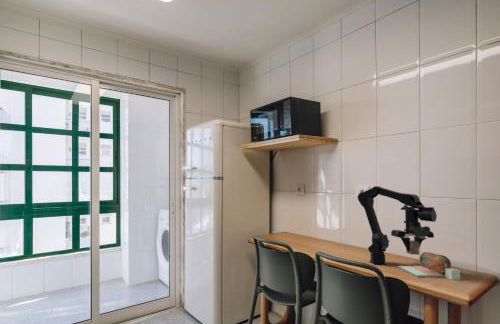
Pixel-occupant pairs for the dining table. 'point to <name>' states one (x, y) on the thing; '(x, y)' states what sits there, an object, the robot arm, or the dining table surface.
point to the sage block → (452, 273)
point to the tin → (435, 262)
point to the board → (421, 271)
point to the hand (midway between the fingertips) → (412, 251)
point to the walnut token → (413, 247)
